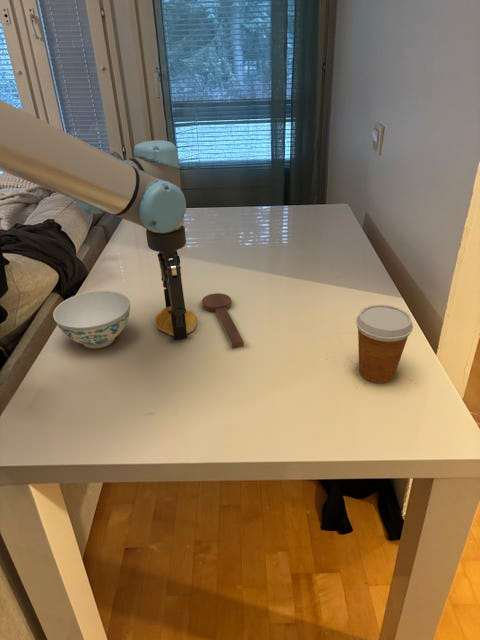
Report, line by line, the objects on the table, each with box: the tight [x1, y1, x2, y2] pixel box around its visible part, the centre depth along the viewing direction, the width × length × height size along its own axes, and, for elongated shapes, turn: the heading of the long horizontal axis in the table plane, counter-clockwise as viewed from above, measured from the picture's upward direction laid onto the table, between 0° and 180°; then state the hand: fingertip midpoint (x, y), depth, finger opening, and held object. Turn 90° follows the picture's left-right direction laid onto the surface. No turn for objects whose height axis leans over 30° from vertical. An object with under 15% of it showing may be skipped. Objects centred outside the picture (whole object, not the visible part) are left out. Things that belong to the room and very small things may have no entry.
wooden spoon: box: [201, 292, 244, 349], centre depth 103 cm, size 7×22×1 cm, turn 16°
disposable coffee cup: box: [355, 304, 414, 384], centre depth 83 cm, size 10×10×12 cm
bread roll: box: [154, 306, 198, 337], centre depth 101 cm, size 8×9×4 cm
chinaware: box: [52, 290, 131, 349], centre depth 96 cm, size 15×15×8 cm
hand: (176, 325), depth 101 cm, fingers closed on bread roll, 9 cm apart
